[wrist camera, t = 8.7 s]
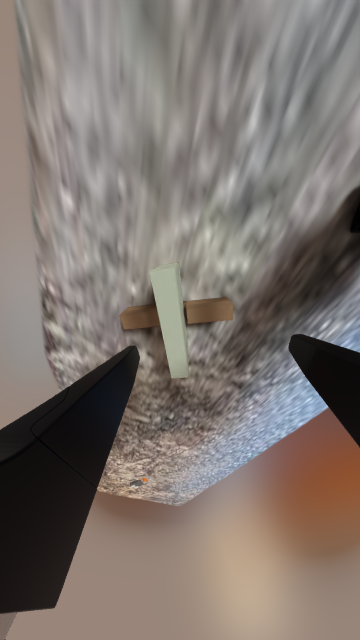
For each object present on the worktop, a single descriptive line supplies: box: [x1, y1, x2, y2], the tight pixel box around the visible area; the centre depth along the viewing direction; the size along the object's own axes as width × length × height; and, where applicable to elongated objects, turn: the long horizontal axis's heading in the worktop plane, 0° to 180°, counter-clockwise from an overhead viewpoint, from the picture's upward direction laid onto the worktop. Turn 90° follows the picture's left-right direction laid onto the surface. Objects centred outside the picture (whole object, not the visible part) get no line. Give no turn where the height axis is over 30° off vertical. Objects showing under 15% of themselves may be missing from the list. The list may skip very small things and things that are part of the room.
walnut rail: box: [119, 297, 233, 329], centre depth 18 cm, size 14×2×3 cm, turn 97°
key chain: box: [130, 478, 150, 488], centre depth 51 cm, size 13×4×2 cm, turn 139°
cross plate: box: [149, 263, 189, 378], centre depth 16 cm, size 12×2×7 cm, turn 7°
